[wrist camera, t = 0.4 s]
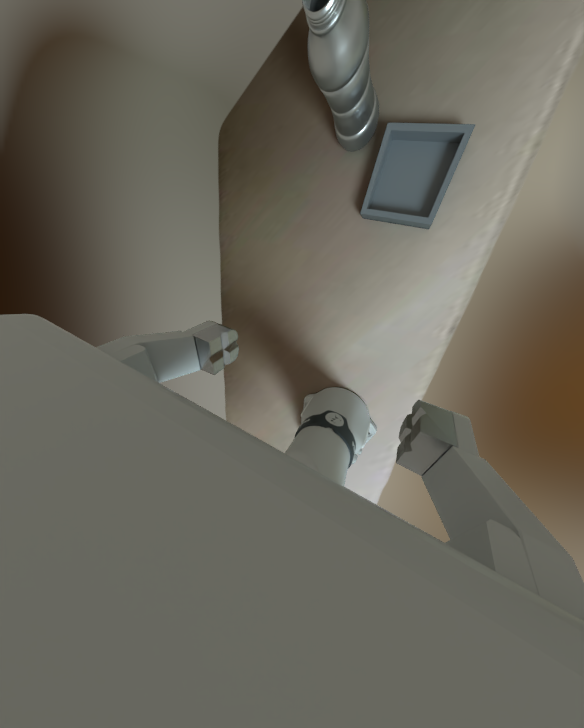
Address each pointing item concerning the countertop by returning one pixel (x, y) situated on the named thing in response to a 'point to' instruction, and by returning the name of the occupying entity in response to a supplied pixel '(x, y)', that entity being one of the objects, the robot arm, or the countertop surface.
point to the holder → (414, 172)
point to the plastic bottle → (343, 67)
